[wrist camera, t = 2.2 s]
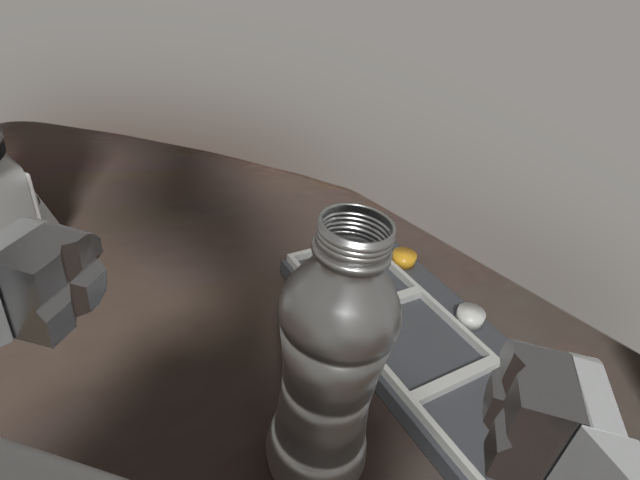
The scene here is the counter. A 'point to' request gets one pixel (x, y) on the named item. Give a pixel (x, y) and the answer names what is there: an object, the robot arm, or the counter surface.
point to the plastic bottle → (334, 345)
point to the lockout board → (436, 366)
